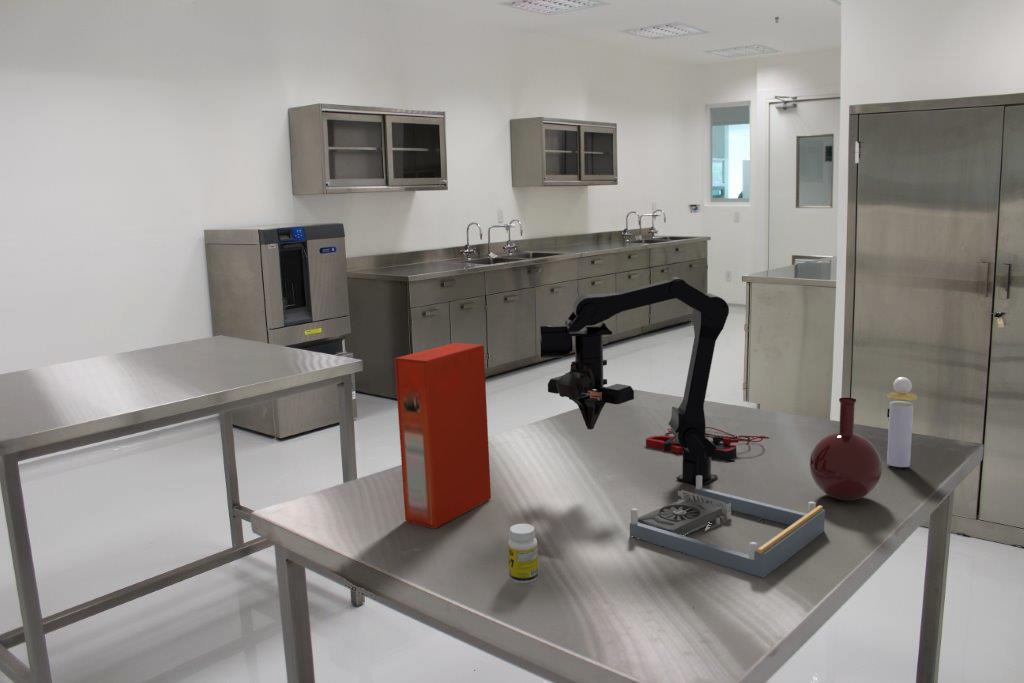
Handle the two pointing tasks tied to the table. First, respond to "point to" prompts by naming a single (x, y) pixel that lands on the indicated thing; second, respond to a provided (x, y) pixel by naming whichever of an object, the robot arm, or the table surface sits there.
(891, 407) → the perfume bottle
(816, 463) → the round-bottom flask
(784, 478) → the table surface
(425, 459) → the file binder
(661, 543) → the frame
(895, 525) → the table surface
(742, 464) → the table surface
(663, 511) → the graphics card
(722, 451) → the digital clamp meter
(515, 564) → the supplement bottle
